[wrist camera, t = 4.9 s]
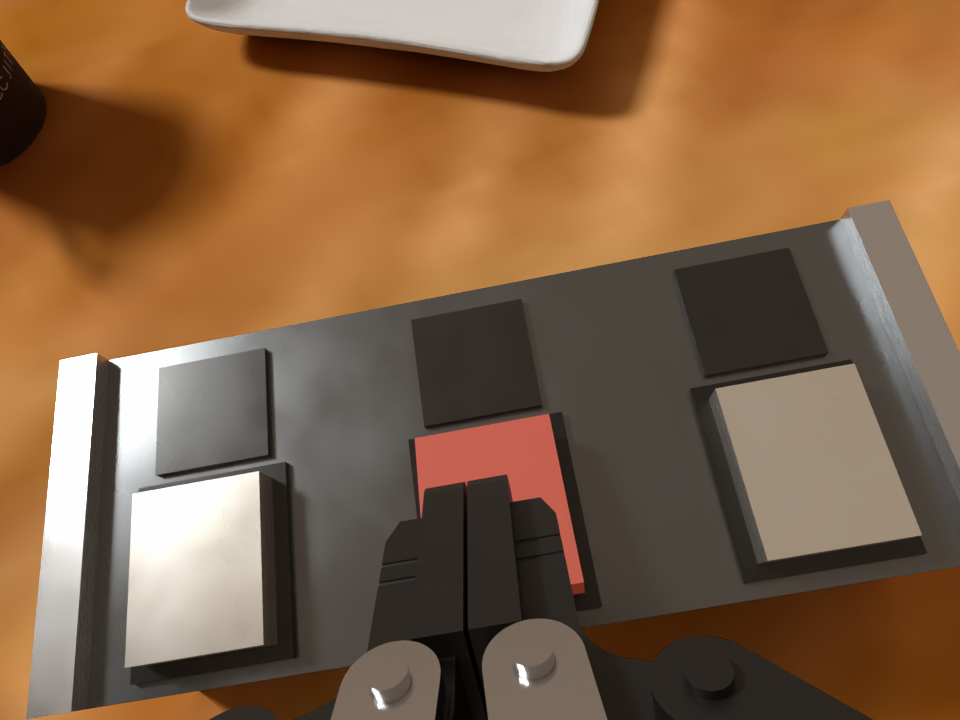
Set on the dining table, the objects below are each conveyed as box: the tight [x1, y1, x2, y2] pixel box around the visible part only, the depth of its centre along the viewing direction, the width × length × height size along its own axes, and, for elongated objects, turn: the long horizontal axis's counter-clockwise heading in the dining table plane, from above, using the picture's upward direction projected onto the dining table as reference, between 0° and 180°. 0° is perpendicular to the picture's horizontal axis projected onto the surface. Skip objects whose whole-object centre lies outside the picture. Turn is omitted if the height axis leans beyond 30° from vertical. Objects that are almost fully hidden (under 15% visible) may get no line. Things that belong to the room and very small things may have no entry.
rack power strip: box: [26, 200, 960, 719], centre depth 22 cm, size 10×25×9 cm, turn 99°
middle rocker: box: [415, 414, 585, 595], centre depth 17 cm, size 4×4×1 cm
